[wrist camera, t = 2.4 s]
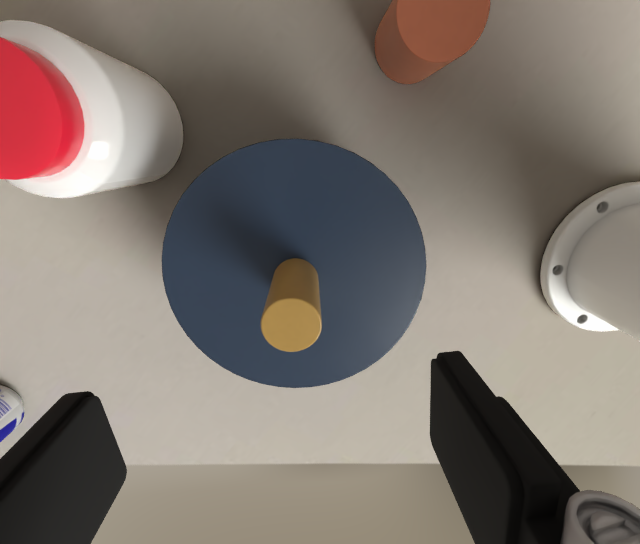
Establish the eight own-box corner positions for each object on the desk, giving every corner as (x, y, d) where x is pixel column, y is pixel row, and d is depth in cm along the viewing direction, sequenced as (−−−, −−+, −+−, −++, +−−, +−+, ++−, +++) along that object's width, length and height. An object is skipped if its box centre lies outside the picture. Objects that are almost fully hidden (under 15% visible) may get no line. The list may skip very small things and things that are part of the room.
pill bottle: (125, 38, 22) (-35, -62, 12) (206, 141, 24) (130, 133, 14) (46, 113, 24) (-161, 84, 13) (129, 204, 26) (9, 240, 15)
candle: (446, -3, 22) (494, -57, 16) (444, 80, 24) (487, 58, 18) (372, 4, 22) (395, -46, 16) (375, 87, 24) (397, 67, 18)
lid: (421, 125, 18) (480, 111, 12) (420, 365, 23) (462, 445, 17) (138, 154, 18) (47, 155, 12) (199, 388, 23) (158, 476, 17)
